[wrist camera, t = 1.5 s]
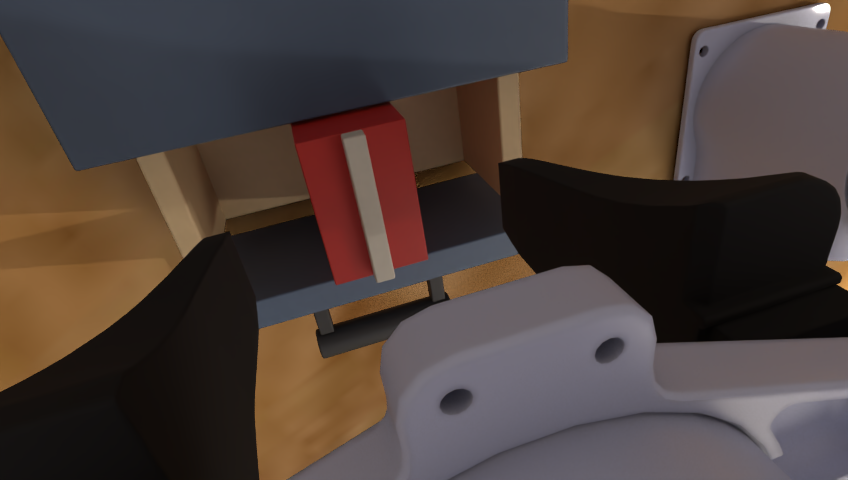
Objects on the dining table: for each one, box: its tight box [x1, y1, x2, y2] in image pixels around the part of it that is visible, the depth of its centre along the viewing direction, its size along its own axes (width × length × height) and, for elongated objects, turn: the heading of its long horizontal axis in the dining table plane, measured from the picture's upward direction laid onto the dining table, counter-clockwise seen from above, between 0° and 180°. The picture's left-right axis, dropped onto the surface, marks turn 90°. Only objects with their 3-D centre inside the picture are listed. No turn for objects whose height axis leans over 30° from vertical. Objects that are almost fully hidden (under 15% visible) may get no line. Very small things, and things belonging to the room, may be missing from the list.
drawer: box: [136, 73, 522, 358], centre depth 19 cm, size 15×13×6 cm
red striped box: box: [291, 102, 428, 285], centre depth 17 cm, size 5×3×8 cm, turn 9°
